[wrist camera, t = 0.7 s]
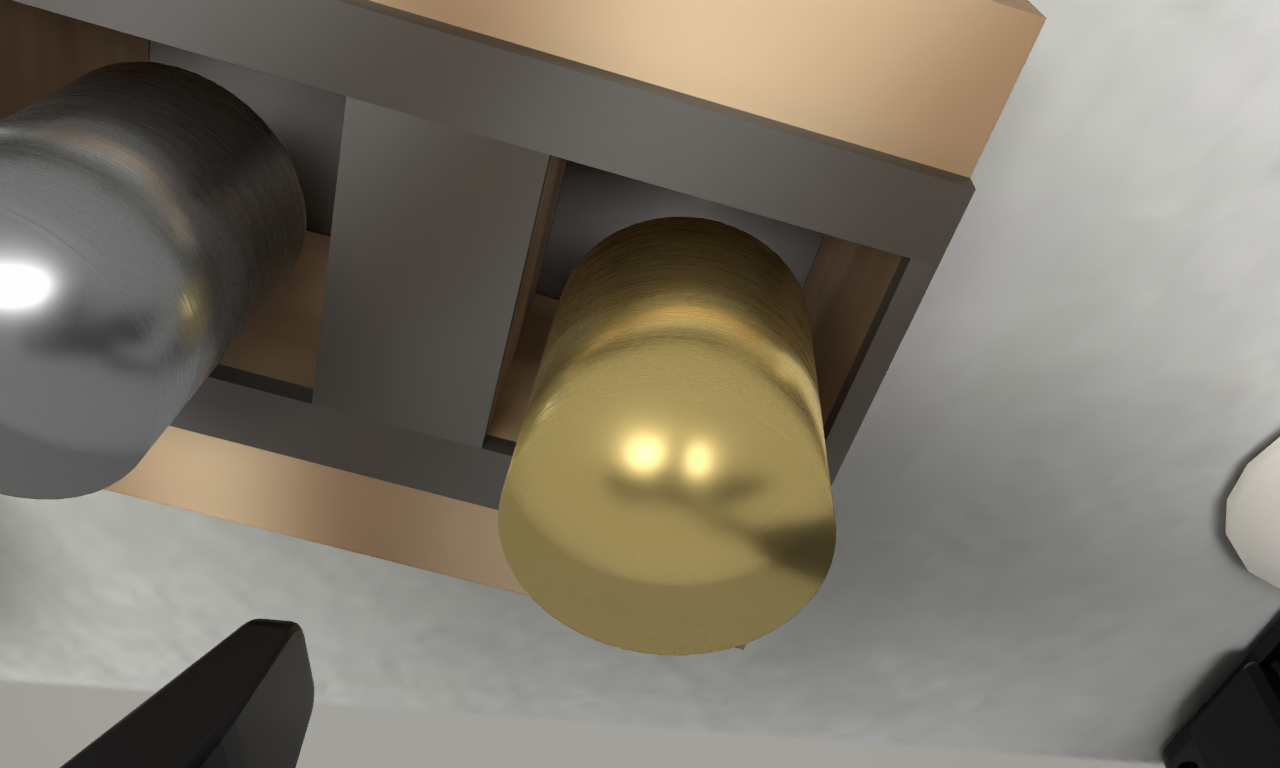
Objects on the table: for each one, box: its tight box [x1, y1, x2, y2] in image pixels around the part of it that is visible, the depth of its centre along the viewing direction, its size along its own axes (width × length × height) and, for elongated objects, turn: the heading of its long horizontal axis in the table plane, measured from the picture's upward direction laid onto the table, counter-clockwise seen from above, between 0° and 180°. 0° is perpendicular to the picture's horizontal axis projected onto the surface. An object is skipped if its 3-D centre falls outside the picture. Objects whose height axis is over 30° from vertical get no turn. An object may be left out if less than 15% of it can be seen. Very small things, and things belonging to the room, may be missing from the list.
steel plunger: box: [0, 61, 306, 499], centre depth 14 cm, size 4×4×5 cm
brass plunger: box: [498, 217, 836, 655], centre depth 14 cm, size 4×4×5 cm
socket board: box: [0, 0, 1046, 649], centre depth 17 cm, size 14×12×5 cm
